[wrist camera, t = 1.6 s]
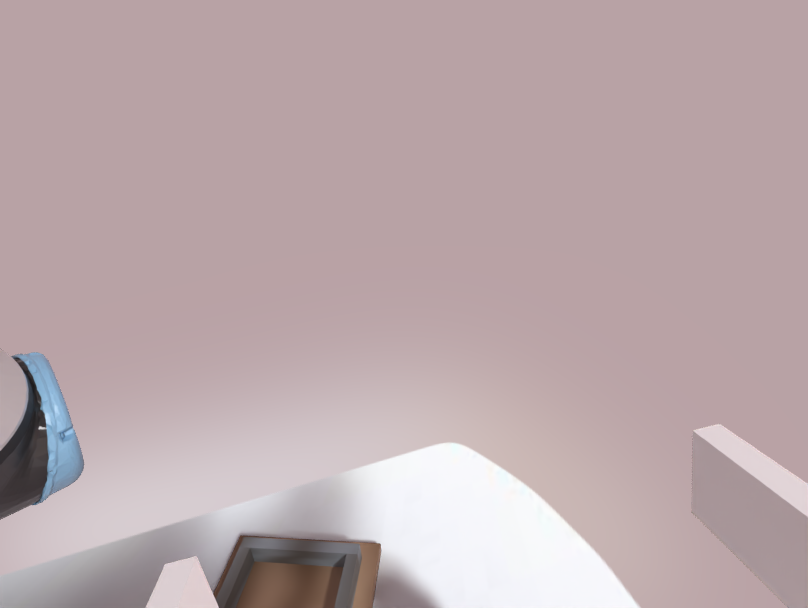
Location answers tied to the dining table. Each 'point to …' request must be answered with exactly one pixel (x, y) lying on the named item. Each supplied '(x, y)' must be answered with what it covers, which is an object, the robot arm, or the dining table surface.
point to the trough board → (299, 574)
